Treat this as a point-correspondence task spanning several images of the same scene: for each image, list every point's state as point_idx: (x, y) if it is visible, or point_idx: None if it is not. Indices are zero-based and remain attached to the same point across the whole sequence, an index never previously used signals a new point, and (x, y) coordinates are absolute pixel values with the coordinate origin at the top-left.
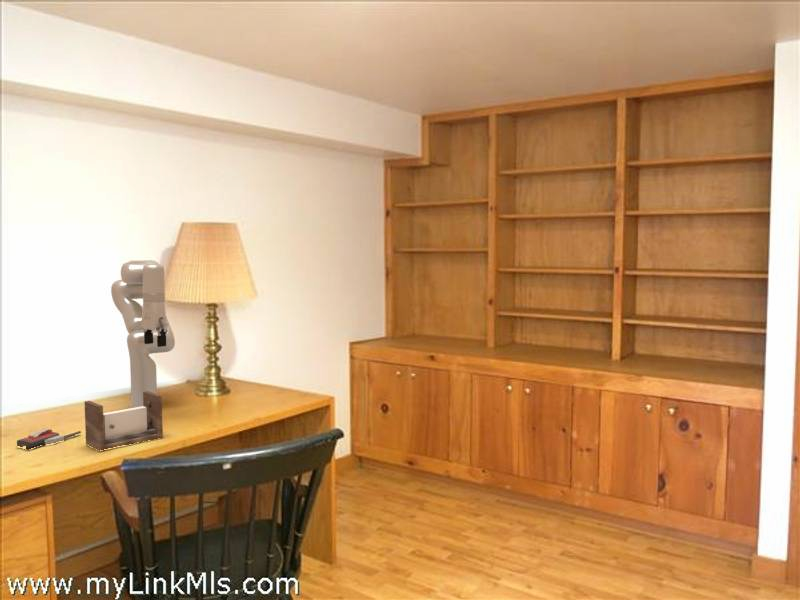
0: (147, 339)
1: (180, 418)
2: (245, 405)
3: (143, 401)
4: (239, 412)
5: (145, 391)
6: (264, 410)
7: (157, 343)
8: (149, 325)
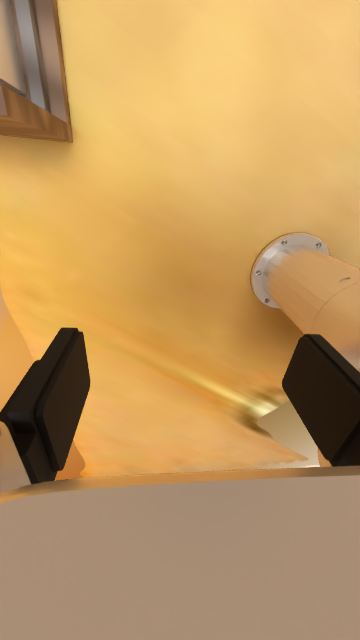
0: (315, 373)
1: (148, 281)
2: (145, 402)
3: (23, 98)
4: (105, 374)
5: (5, 102)
6: (87, 404)
7: (62, 343)
8: (157, 636)
